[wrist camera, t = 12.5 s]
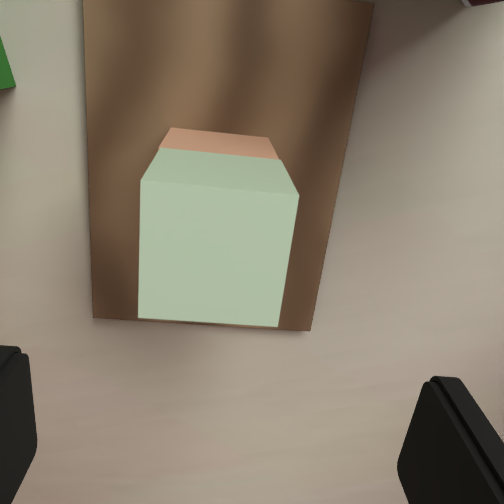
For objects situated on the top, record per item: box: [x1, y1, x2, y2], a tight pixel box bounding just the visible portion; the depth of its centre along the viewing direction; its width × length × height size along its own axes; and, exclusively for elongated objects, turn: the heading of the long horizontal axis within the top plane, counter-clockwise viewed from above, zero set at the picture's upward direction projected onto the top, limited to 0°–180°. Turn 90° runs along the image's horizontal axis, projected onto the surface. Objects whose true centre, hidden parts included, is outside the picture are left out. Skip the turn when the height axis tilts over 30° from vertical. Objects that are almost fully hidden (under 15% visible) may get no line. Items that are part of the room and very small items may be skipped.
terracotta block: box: [158, 127, 279, 160], centre depth 27 cm, size 6×6×6 cm
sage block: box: [138, 147, 299, 327], centre depth 21 cm, size 6×6×6 cm
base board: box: [83, 0, 374, 331], centre depth 30 cm, size 16×22×1 cm
